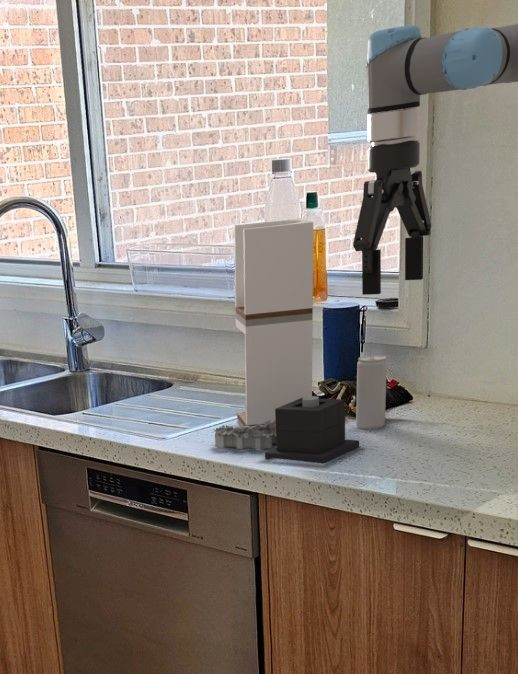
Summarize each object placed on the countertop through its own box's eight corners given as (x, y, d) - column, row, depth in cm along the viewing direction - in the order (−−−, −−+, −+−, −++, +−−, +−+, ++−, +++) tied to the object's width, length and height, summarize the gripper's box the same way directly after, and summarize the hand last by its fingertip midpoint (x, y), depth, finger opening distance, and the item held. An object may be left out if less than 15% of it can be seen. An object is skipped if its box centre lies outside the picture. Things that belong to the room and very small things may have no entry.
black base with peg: (359, 449, 201) (358, 391, 197) (324, 466, 194) (322, 407, 190) (300, 445, 208) (299, 389, 204) (264, 461, 201) (262, 404, 198)
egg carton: (284, 443, 211) (285, 419, 210) (265, 453, 206) (265, 429, 204) (229, 439, 218) (229, 416, 216) (209, 449, 212) (208, 426, 211)
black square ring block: (345, 441, 200) (345, 420, 199) (319, 454, 195) (319, 432, 194) (302, 439, 206) (302, 418, 204) (276, 450, 201) (275, 430, 199)
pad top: (345, 420, 199) (344, 399, 197) (319, 432, 194) (318, 410, 193) (302, 418, 204) (301, 397, 203) (275, 430, 199) (274, 408, 198)
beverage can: (356, 431, 211) (358, 361, 206) (355, 425, 215) (356, 356, 210) (385, 430, 210) (387, 359, 205) (384, 423, 214) (386, 354, 209)
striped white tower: (299, 418, 226) (299, 218, 212) (311, 430, 217) (313, 222, 202) (237, 423, 227) (234, 225, 213) (247, 436, 217) (244, 229, 203)
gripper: (410, 136, 195) (409, 274, 203) (328, 152, 180) (330, 301, 188) (455, 131, 190) (452, 273, 198) (374, 147, 174) (375, 300, 183)
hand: (393, 287), depth 193 cm, fingers open, 13 cm apart
